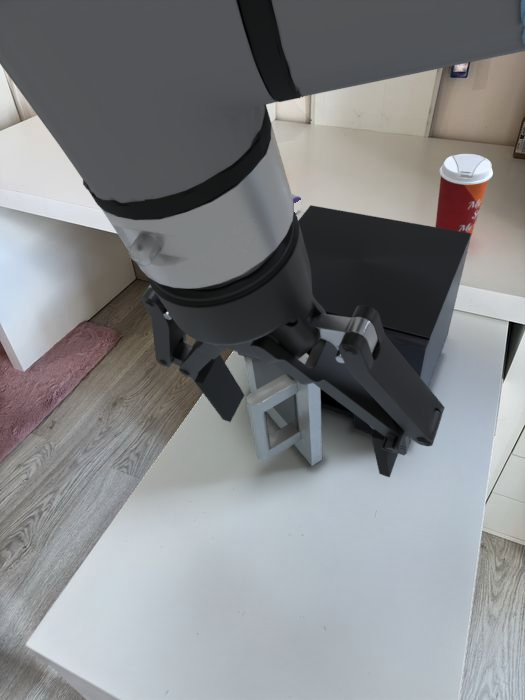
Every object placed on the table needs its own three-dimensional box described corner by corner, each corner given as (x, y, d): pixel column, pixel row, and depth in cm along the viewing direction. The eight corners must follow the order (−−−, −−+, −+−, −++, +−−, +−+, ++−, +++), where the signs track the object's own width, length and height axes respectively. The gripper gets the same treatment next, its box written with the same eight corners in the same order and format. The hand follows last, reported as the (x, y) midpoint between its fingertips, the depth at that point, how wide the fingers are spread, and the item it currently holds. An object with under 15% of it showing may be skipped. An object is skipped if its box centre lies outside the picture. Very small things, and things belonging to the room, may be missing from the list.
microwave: (404, 452, 63) (423, 354, 50) (251, 398, 71) (233, 302, 59) (447, 334, 76) (471, 233, 63) (313, 300, 85) (310, 204, 72)
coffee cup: (473, 258, 88) (493, 178, 77) (424, 251, 91) (437, 173, 80) (477, 231, 93) (496, 153, 83) (431, 226, 96) (444, 149, 85)
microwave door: (274, 490, 61) (259, 401, 48) (216, 412, 70) (190, 319, 57) (322, 459, 63) (320, 366, 51) (259, 388, 72) (244, 293, 60)
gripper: (-9, 255, 27) (159, 425, 44) (488, 368, 16) (457, 538, 33) (72, 164, 30) (200, 356, 47) (535, 205, 19) (485, 437, 36)
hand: (306, 431), depth 40 cm, fingers open, 13 cm apart
